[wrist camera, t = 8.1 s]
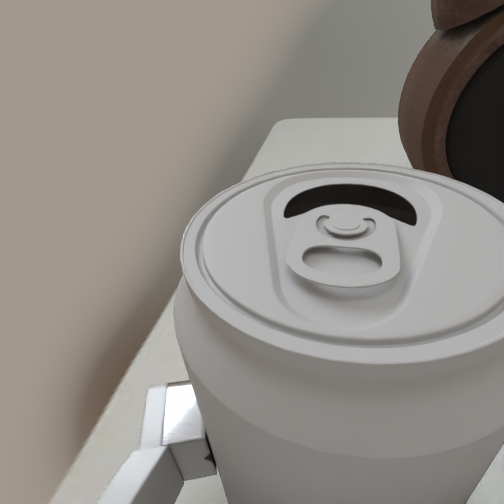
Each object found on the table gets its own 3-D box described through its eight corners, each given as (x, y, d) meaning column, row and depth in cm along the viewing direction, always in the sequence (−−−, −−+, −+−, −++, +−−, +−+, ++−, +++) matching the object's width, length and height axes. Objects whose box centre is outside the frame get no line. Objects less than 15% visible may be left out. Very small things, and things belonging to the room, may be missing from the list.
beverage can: (412, 438, 14) (507, 151, 8) (432, 674, 10) (763, 459, 3) (261, 407, 16) (227, 149, 9) (211, 593, 11) (60, 334, 4)
